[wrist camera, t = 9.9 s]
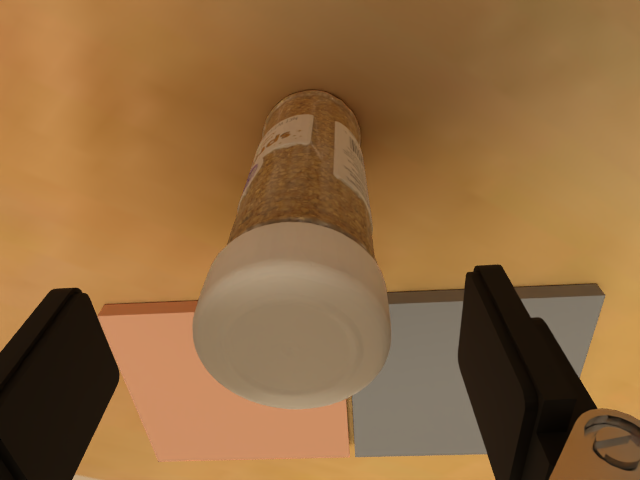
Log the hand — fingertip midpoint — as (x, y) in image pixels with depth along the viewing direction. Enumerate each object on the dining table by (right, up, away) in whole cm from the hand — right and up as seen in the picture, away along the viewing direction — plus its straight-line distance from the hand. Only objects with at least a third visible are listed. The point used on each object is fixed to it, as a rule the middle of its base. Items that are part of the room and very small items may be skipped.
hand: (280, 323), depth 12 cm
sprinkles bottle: (+1, +7, +10) cm, 12 cm away
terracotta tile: (-4, -7, +19) cm, 21 cm away
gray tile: (+10, -6, +18) cm, 22 cm away
